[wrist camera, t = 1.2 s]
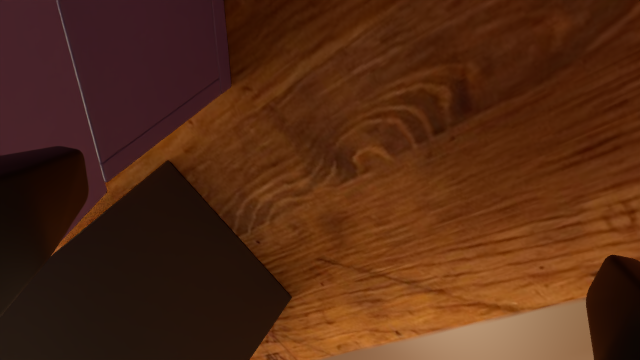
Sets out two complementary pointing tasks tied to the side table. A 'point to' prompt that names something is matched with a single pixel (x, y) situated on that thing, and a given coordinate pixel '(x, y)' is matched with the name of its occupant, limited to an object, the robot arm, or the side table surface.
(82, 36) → the file holder
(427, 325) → the side table surface
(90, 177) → the lid
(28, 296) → the desk stand
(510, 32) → the side table surface
